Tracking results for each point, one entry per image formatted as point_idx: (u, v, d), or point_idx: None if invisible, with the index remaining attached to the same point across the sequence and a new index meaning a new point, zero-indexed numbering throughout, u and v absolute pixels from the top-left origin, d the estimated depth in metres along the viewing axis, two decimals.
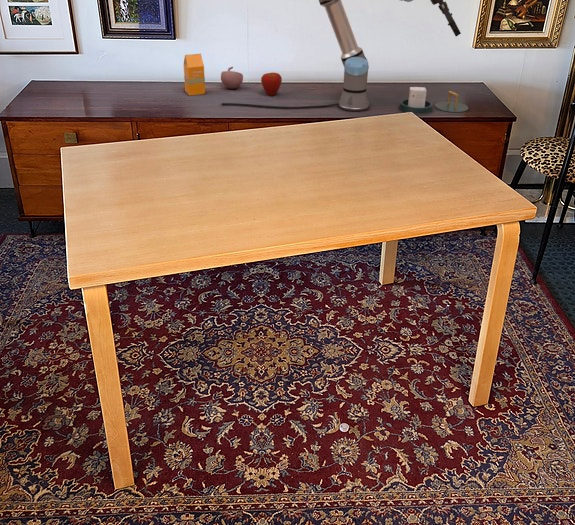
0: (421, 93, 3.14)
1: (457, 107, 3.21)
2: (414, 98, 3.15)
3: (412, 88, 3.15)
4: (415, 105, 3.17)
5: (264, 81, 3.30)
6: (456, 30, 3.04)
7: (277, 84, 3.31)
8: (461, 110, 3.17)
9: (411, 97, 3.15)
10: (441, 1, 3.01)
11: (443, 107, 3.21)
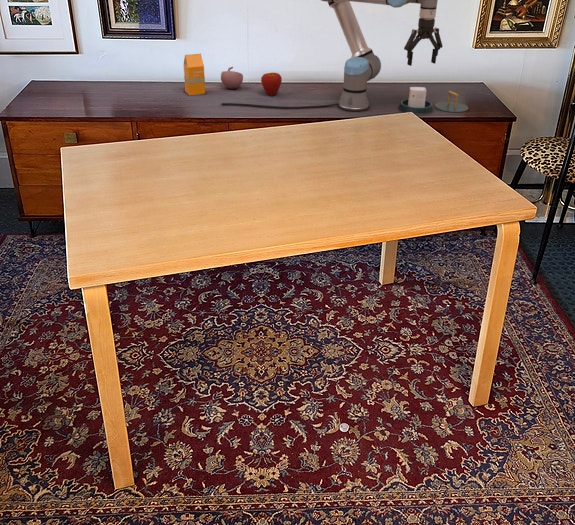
0: (421, 93, 3.14)
1: (457, 107, 3.21)
2: (414, 98, 3.15)
3: (412, 88, 3.15)
4: (415, 105, 3.17)
5: (264, 81, 3.30)
6: (409, 60, 3.05)
7: (277, 84, 3.31)
8: (461, 110, 3.17)
9: (411, 97, 3.15)
10: (419, 27, 2.98)
11: (443, 107, 3.21)
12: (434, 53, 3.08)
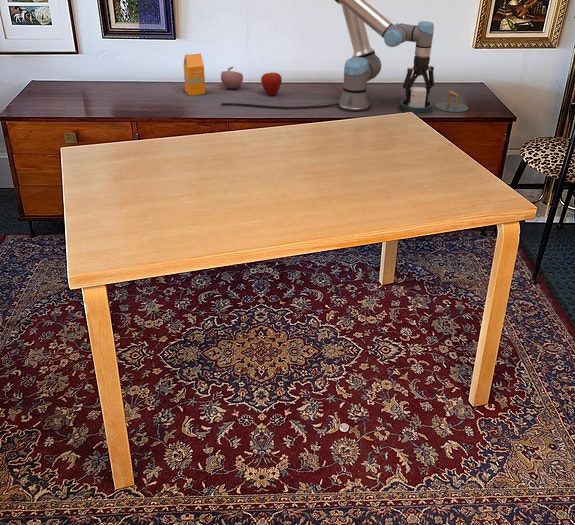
0: (421, 93, 3.14)
1: (457, 107, 3.21)
2: (414, 98, 3.15)
3: (412, 88, 3.15)
4: (415, 105, 3.17)
5: (264, 81, 3.30)
6: (408, 97, 3.15)
7: (277, 84, 3.31)
8: (461, 110, 3.17)
9: (411, 97, 3.15)
10: (415, 64, 3.07)
11: (443, 107, 3.21)
12: (426, 91, 3.17)
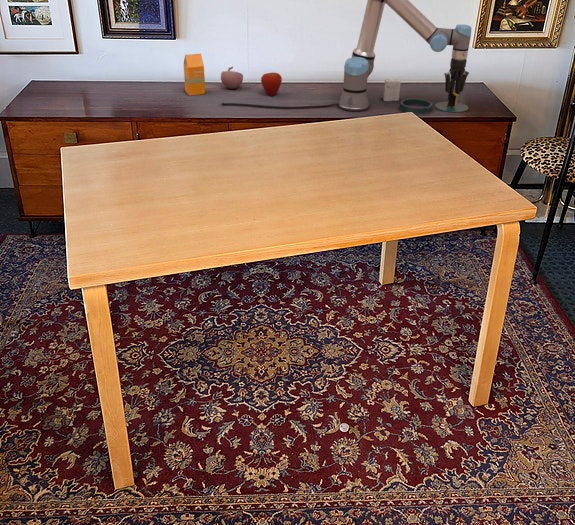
0: (395, 85, 3.26)
1: (457, 107, 3.21)
2: (389, 89, 3.28)
3: (387, 80, 3.28)
4: (390, 96, 3.30)
5: (264, 81, 3.30)
6: (450, 101, 3.20)
7: (277, 84, 3.31)
8: (461, 110, 3.17)
9: (386, 88, 3.28)
10: (451, 67, 3.10)
11: (443, 107, 3.21)
12: (454, 97, 3.19)
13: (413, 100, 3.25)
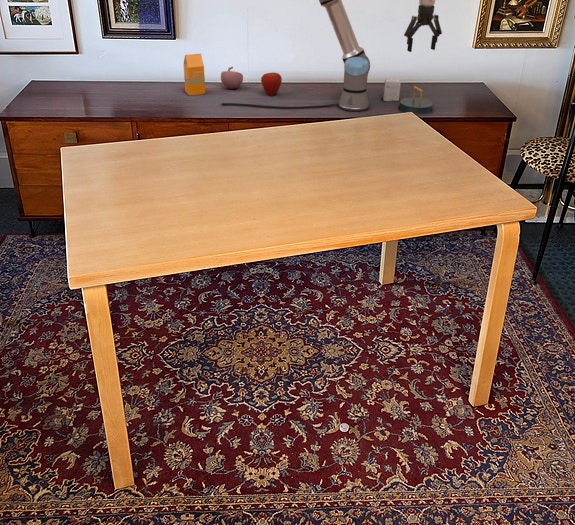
0: (395, 85, 3.26)
1: (422, 103, 3.17)
2: (389, 89, 3.28)
3: (387, 80, 3.28)
4: (390, 96, 3.30)
5: (264, 81, 3.30)
6: (409, 46, 3.12)
7: (277, 84, 3.31)
8: (426, 106, 3.13)
9: (386, 88, 3.28)
10: (419, 14, 3.05)
11: (408, 103, 3.17)
12: (433, 40, 3.15)
13: None
